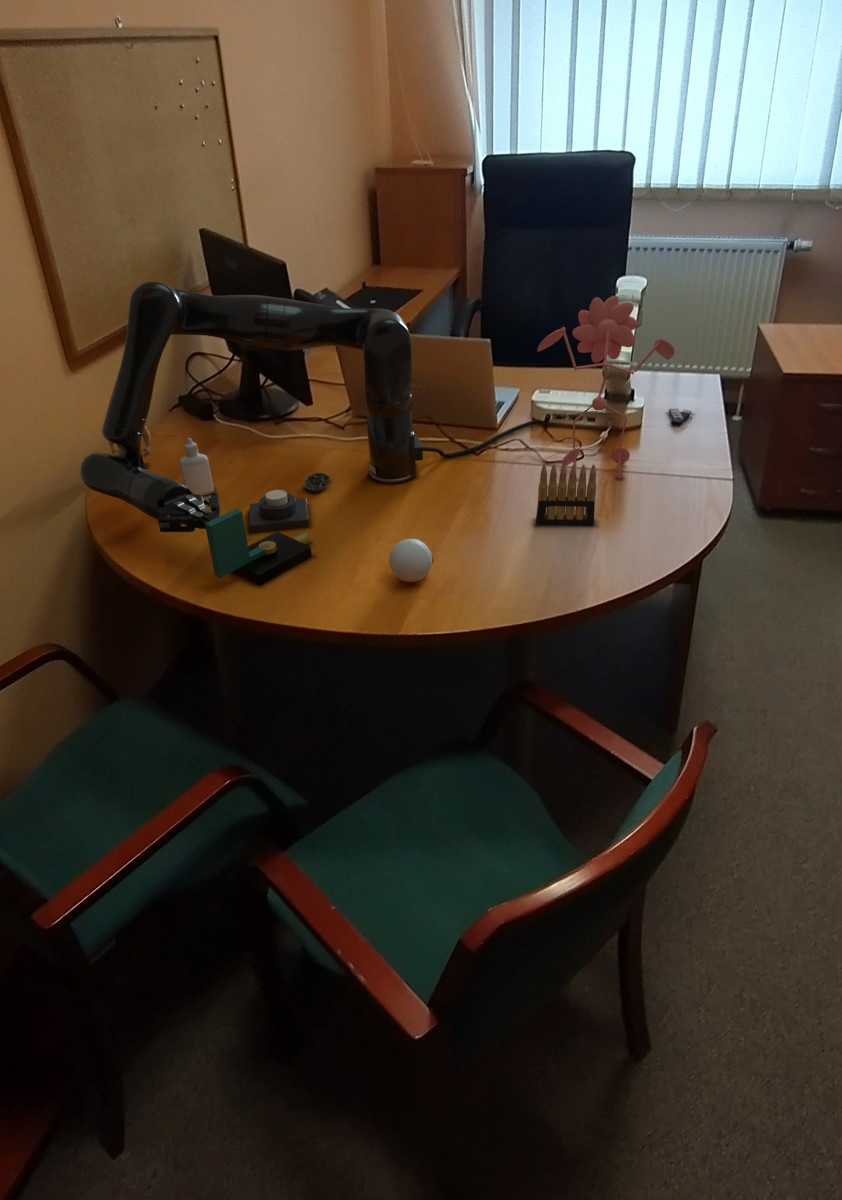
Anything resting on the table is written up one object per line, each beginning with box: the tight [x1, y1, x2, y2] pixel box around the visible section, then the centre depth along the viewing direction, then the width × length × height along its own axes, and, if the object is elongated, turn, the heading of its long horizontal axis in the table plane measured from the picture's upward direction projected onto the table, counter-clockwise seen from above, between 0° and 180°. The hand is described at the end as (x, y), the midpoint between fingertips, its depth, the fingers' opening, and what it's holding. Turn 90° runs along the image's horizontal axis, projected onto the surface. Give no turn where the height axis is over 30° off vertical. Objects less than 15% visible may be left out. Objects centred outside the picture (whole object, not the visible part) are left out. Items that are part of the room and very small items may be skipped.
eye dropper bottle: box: [179, 437, 215, 497], centre depth 170 cm, size 4×6×12 cm
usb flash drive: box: [668, 408, 693, 427], centre depth 198 cm, size 9×5×1 cm, turn 147°
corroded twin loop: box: [303, 472, 330, 493], centre depth 174 cm, size 5×8×1 cm, turn 0°
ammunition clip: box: [535, 463, 597, 527], centre depth 155 cm, size 11×2×12 cm, turn 86°
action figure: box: [107, 425, 152, 469], centre depth 181 cm, size 10×4×15 cm, turn 88°
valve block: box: [232, 530, 313, 586], centre depth 150 cm, size 15×9×2 cm, turn 139°
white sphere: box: [388, 538, 434, 583], centre depth 143 cm, size 10×7×7 cm
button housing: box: [248, 492, 310, 534], centre depth 162 cm, size 11×9×4 cm
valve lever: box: [205, 508, 276, 579], centre depth 142 cm, size 12×3×10 cm, turn 139°
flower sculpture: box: [536, 295, 676, 479], centre depth 169 cm, size 15×26×35 cm, turn 90°
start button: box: [265, 489, 288, 507], centre depth 160 cm, size 4×4×2 cm
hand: (221, 526), depth 140 cm, fingers closed
